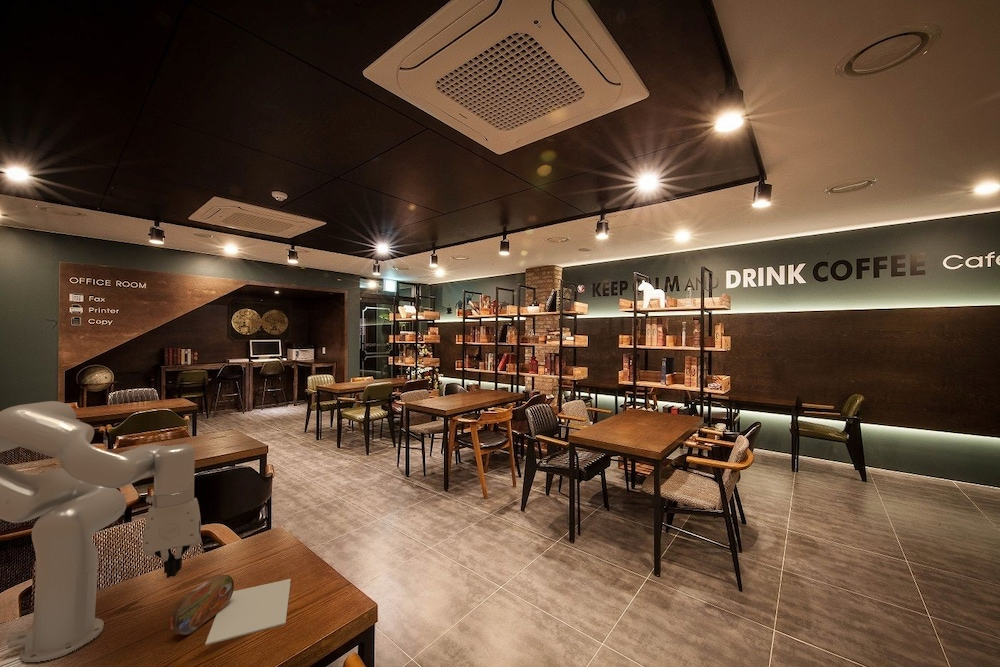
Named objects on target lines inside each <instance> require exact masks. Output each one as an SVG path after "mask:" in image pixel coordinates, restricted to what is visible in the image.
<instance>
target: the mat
mask: <svg viewBox="0 0 1000 667" xmlns="http://www.w3.org/2000/svg"><path fill="white" fill-rule="evenodd" d="M291 581H292V579H291V578H287V579H283V580H279V581H273V582H269V583H265V584H261V585H256V586H252V587H247V588H242V589H238V590H233V593H232V596H231V599H230V600H229V602H228V604H227V605H226V606H225V607H224V608H223V609H222V610H221V611H220V612H218V613H217V614H216V615H215V617H214V619H213V623H212V626H211V628H210V630H209V633H208V635H207V638H206V641H205V646H208V645H212V644H216V643H219V642H224V641H227V640H231V639H232V640H233V639H235V638H238V637H239V638H240V637H242V636H247V635H250V634H254V633H258V632H261V631H265V630H269V629H273V628H276V627H280V626H283V625H286V623H287V616H288V615H287V614H288V607H289V601H290V597H289V596H290V591H291V590H290V589H291V583H290V582H291Z"/></svg>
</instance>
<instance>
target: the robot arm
mask: <svg viewBox="0 0 1000 667" xmlns="http://www.w3.org/2000/svg"><path fill="white" fill-rule="evenodd" d="M76 419H77V413H76V411H75V410H74V408H73V407H72V406H71V405H69V404H67V403H65V402H63V401H56V400H50V401H49V400H48V401H40V402H33V403H27V404H18V405H15V406H14V405H13V406H10V407H7V408H5V409H3V410H1V411H0V453H2V452H6V451H10V450H13V449H16V448H23V449H26V450H30V451H32V452H35V453H36V452H37V454H43V455H45V456H48V457H52V458H54V459H56V460H58V463H59V465H60V466H61V468H55V469H51V470H47V471H43V472H41V473H38V474H28V473H25V472H21V471H19V470H16V469H15V468H13V467H11V466H9V465H6V464H4V463H0V520H2V521H5V522H9V523H13V524H18V523H19V524H20V523H23V522H24V523H25V522H28V521H30V520H33V519H36V518H38V517H39V518H38V519H37V520H36V522H35V523H34V525H33V527H32V529H31V541H32V544H33V548H34V552H35V565H36V566H35V568H36V569H35V591H34V605H33V608H34V609H33V622H32V627H30V629H26V630H19V631H15V632H11V633H10V634H9V635H8V637H7V640H6V643H7V648H8V649H12V648H15V647H18V646H22V647H23V648H22V649H21V650H20V654H19V655H20V657H19V659H20V658H21V659H20V661H21V660H22V661H25V662H39V663H41V662H40V661H45V662H47V661H46V660H49V661H52V660H55V659H59V658H61V657H63V656H66V655H69V654H71V653H73V652H75V651H77V650H78V649H77V648H79V647H81V646H83V645H84V644H86V643H88V642H89V643H91V642H92V641H94V640H95V639H96V638H97V637H98V636H99V635H100V634H101V633H102V632H103V629H104V625H105V624H104V620H103V619H101V618H98V617H96V603H97V601H96V600H97V585H98V584H97V582H98V568H99V567H98V566H99V553H98V549H97V547H96V545H95V543H94V541H93V539H92V537H93V534H96V533H97V532H98V531H100V530H102V529H104V528H105V527H108V526H109V525H111V524H112V523H115V521H117V520H119V518H120V517H121V516H123V514H124V513H125V511H126V509H127V504H128V503H127V499H126V496H125V495H124V494H123V493H122V492H121V491H120V490H119V489H120V488H124V487H126V486H127V487H128V486H129V485H131V484H134V483H136V482H138V481H140V480H142V479H145V478H149V477H151V476H153V478H154V479H153V493H152V494H151V495H148V496H146V498H145V502H146V503H152V505H151V506H150V507H149V508H148V511H147V513H146V519H145V525H144V530H143V531H144V532H143V540H142V550H143V555H144V556H156V557H157V558H159V559H161V561H162V562H163V563H164V564H163V573H164V574H166V579H169V578H171V577H172V578H175V577H176V576H177V574H178V573H179V571H181V570H182V567H183V555H184V554H185V553H186V552H187V551H188V550H189V549H192V548H194V547H197V546H199V545H200V544H201V543H202V538H201V531H202V523H201V522H202V521H201V512H200V505H199V501H198V498H197V497H195V463H196V462H195V459H196V458H195V456H196V455H195V454H196V453H195V448H194V446H193V445H192V444H186V443H185V444H183V443H182V444H173V445H160V444H145V445H141V446H138V447H135V448H132V449H129V450H128V449H127V450H126V451H123V452H119V453H115V452H111V451H109V450H105V449H102V448H99V447H97V446H94V445H92V444H91V442H92V440H93V438H94V435H95V429H94V427H93V426H92V425H90V424H89V423H85V422H82V421H80V420H76ZM173 549H175V554H174V553H173ZM94 638H95V639H94ZM93 639H94V640H93ZM91 640H92V641H91ZM90 641H91V642H90ZM89 643H88V644H89ZM86 645H87V644H86ZM83 647H84V646H83ZM81 648H82V647H81ZM76 649H77V650H76ZM79 649H80V648H79ZM74 650H75V651H74ZM72 651H73V652H72ZM70 652H71V653H70ZM68 653H69V654H68ZM58 657H59V658H58ZM54 658H55V659H54ZM51 659H52V660H51ZM22 661H21V662H22ZM25 662H24V663H25Z"/></svg>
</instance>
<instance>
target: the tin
mask: <svg viewBox="0 0 1000 667" xmlns="http://www.w3.org/2000/svg"><path fill="white" fill-rule="evenodd" d="M234 588H235V582H234V579H233V577H232V576H231V575H229V574H217V575H215V576H211V577H210V578H209V579H207V580H206V581H204V582H202V583H201V584H200V585H197V586H196V587H195V588H194V589H192V590H191V591H189V592H188V593H186V594H184V595H183V596H181V598H180V599H179V600H178V601H177V602H176V603H175V604H174V605H173V607H172V610H171V611H170V613H169V616H168V617H169V618H168V626H169V629H170V632H171V633H173V634H176V635H181V636H182V635H183V636H186V635H190V634H192V633H194V632H195V631H196V630H198V629H199V628H200V627H202V626H203V625H204V624H205V623H207V622H208V621H209V620H211V619H212V618H214V616H216V615H217V613H218V612H220V611H221V610H222V609H223V608H224V607H225V606H226V605H227V604H228V602H229V600H230V599H231V596H232V593H233V591H234Z"/></svg>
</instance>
